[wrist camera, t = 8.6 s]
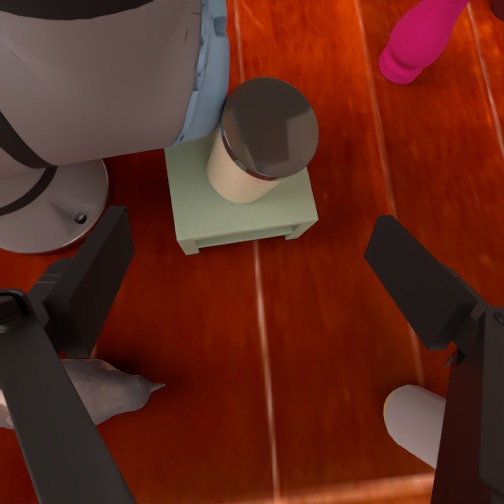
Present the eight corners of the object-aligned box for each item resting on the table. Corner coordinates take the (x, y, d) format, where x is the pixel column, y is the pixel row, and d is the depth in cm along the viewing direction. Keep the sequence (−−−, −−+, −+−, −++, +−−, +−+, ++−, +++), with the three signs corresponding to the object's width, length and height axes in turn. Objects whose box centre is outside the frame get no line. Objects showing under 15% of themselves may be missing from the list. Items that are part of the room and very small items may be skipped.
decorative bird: (164, 418, 32) (154, 438, 27) (-91, 415, 29) (-154, 438, 24) (170, 356, 33) (162, 365, 28) (-75, 349, 30) (-132, 357, 25)
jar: (210, 207, 28) (230, 180, 19) (200, 134, 28) (216, 73, 19) (279, 202, 30) (325, 174, 21) (269, 133, 30) (312, 78, 21)
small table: (185, 255, 35) (176, 240, 27) (172, 162, 37) (160, 124, 29) (297, 237, 37) (318, 219, 29) (279, 151, 39) (294, 112, 31)
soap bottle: (371, 435, 34) (536, 574, 16) (384, 374, 35) (548, 441, 18) (426, 452, 34) (645, 605, 17) (436, 390, 36) (647, 473, 18)
